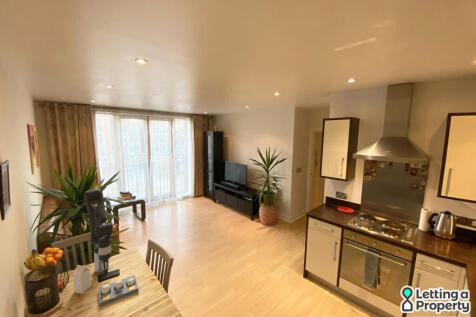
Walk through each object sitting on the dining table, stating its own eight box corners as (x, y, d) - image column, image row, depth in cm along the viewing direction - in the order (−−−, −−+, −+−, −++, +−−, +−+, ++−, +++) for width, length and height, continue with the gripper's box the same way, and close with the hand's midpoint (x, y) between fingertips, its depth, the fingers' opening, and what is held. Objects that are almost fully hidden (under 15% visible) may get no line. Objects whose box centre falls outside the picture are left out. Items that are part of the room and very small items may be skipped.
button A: (101, 291, 142) (101, 285, 142) (109, 288, 145) (109, 283, 144) (101, 295, 138) (101, 290, 138) (109, 292, 141) (109, 287, 140)
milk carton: (81, 293, 143) (80, 269, 141) (74, 292, 145) (72, 268, 142) (91, 286, 150) (89, 263, 148) (83, 285, 151) (82, 262, 149)
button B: (114, 286, 147) (114, 281, 146) (122, 283, 149) (121, 278, 149) (115, 290, 143) (114, 285, 142) (122, 287, 146) (122, 282, 145)
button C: (126, 284, 152) (126, 279, 151) (133, 282, 154) (133, 277, 154) (127, 288, 148) (127, 283, 147) (134, 285, 150) (134, 280, 150)
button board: (99, 290, 146) (98, 286, 146) (134, 278, 160) (134, 274, 160) (99, 307, 133) (99, 302, 132) (138, 291, 147) (138, 287, 146)
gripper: (98, 248, 141) (99, 271, 143) (98, 258, 131) (100, 282, 133) (110, 245, 146) (111, 267, 148) (112, 254, 135) (113, 277, 137)
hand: (106, 274), depth 140 cm, fingers closed
